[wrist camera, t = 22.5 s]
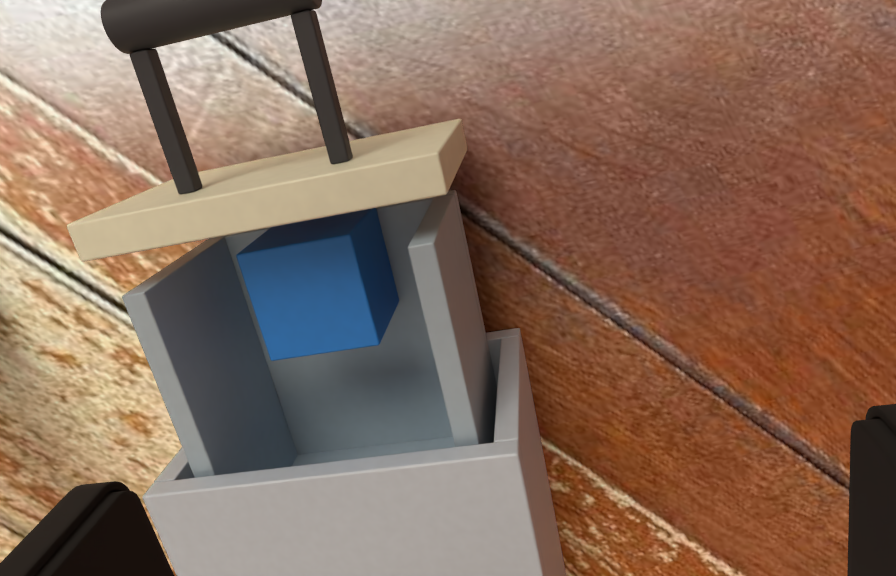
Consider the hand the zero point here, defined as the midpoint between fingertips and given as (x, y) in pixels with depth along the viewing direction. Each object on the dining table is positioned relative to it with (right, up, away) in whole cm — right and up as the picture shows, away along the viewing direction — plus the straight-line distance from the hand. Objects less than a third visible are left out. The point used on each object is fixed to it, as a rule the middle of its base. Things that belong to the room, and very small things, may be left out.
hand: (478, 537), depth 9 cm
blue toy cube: (-5, +4, +17) cm, 18 cm away
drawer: (-5, +5, +18) cm, 19 cm away
